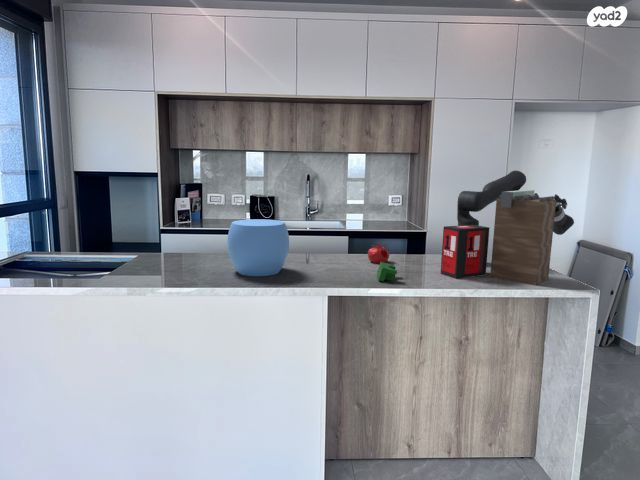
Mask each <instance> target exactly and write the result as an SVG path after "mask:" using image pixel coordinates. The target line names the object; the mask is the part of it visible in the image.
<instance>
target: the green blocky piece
mask: <svg viewBox="0 0 640 480" xmlns="http://www.w3.org/2000/svg"><path fill="white" fill-rule="evenodd" d="M397 273H398V270H397V269H396V265H393V264H390V263H387V262H385V263H384V262H380V263H379V266H378V269H377V273H376V277H377V278H376V279H377V281H378V282H382V283H383V282H385V280H387V281H391V282H394V281H395V278H396V275H397Z"/></svg>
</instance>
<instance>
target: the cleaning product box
mask: <svg viewBox="0 0 640 480" xmlns="http://www.w3.org/2000/svg"><path fill="white" fill-rule="evenodd" d="M490 228H491V227H489V226H484V225H479V226H478V225H461V226H458V225H449V226H448V225H447V226H443V231H442V232H443V233H442V248H441V260H440V261H441V265H440V275H443V276H446V277H449V278H453V279H456V280H457V279H464V278H465V279H466V278H472V277H473V276H474V277H480V276H481V275H482V276H486V274H487V263H488V254H489V253H488V252H489V238H490Z"/></svg>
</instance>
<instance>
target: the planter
mask: <svg viewBox="0 0 640 480" xmlns="http://www.w3.org/2000/svg"><path fill="white" fill-rule="evenodd" d="M226 241H227V251H228V255H229V259H230V261H231V263H232V265H233V267H234V269H235V270H236V272H237V273H238V274H239V275H242V276H248V277H268V276H269V277H270V276H274V275H277V274H279V273H280V271H281V270H282V268H283V267H284V265H285V262H286V261H287V258H288V254H289V249H290V235H289V231H288V227H287V225H286V223H285V222H284V221H282V220H278V219H277V220H275V219H258V218H257V219H254V218H253V219H251V218H250V219H240V220H234V221H232V222H231V223H230V227H229V229H228V234H227V240H226Z"/></svg>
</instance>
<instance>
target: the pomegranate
mask: <svg viewBox="0 0 640 480" xmlns="http://www.w3.org/2000/svg"><path fill="white" fill-rule="evenodd" d="M387 248H388V246H386V245H384V246H381V242H379V241H378V242H377V245H371V247H370V248H369V249H368V251H367V258H368V260H369V261H370V262H371V263H374V264H380V262H384V263H387V262H388V260H389V258H390V251H388V249H387Z"/></svg>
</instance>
